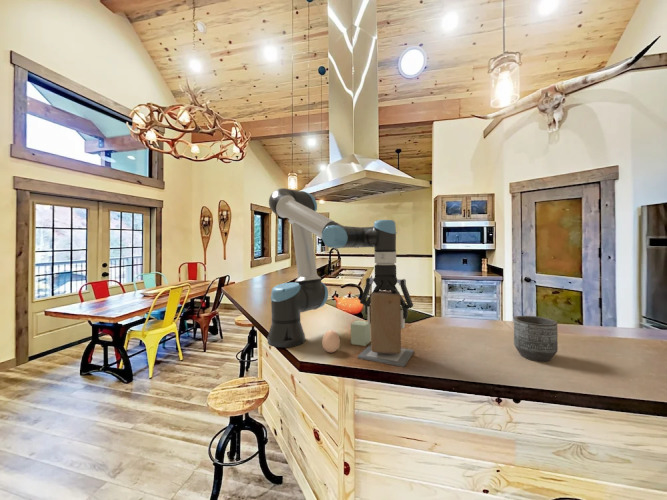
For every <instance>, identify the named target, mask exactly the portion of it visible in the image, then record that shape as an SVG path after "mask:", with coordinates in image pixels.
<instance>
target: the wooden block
mask: <svg viewBox="0 0 667 500" xmlns="http://www.w3.org/2000/svg"><path fill="white" fill-rule="evenodd" d="M372 292H373V291H372ZM372 292H371V293H372ZM398 292H399V293H400V291H398ZM370 295H371V294H370ZM400 295H401V293H400V294H393V293H392V292H391V290H390V291H386V290H383V291H382V290H379V291H378V292H373V293H372V295H371V303H370V305H371V324H370V325H371V342H370V344H371V350H372V352H379V353H395V354H399V353H400V352H401V348H402V329H401V309H402V306H401V297H400Z"/></svg>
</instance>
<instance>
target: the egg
mask: <svg viewBox="0 0 667 500" xmlns="http://www.w3.org/2000/svg"><path fill="white" fill-rule="evenodd" d="M321 345H322V348H323V350H324V351H326V352H328V353H335V352H337V350H338V349H339V348H340V345H341V339H340V336H339V334H338V333H337V332H336V331H334V330H330V329H329V330H327V331H326V332H325V333H324V335H323V337H322V339H321Z"/></svg>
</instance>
